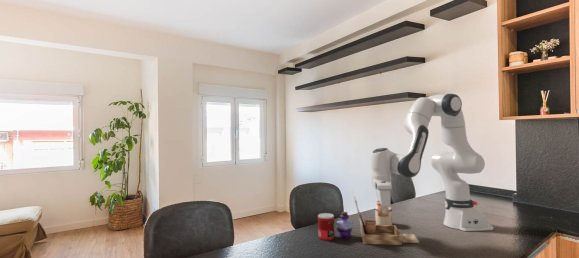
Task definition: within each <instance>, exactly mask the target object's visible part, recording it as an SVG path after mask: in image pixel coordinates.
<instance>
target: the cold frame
mask: <svg viewBox="0 0 579 258" xmlns="http://www.w3.org/2000/svg"><path fill="white" fill-rule="evenodd" d="M352 196H353V198H354V203H355V207H356V211H357V214H358V215H357V216H358V219H359V222H360V223H359V224H360V226H359V227H360V234H361V239H362V243H363V245H364V244H365V245H387V246H388V245H390V246H391V245H392V246H393V245H394V246H403V242H402V235H401V234H402V233H401V232H400V230H399V229H398V227H397V226H396V224H395V225H393V224H392V225H376V235H369V234H365V223H364V220H363V217H362V215H361V212H360V209H359V206H358V202H357V199H356V195H355V193H352Z"/></svg>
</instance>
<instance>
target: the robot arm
mask: <svg viewBox="0 0 579 258" xmlns="http://www.w3.org/2000/svg"><path fill="white" fill-rule="evenodd" d="M462 105H463V102H462V99H461V97H460V96H459V95H458V94H455V93H440V94H439V93H438V94H434V95H431V96H430V95H429V96H428V95H427V96H424V97H423V96H422V97H418V98H416V100H414V102H413V104H412V105H411V107H410V109H409V110H408V111H407V114H406V116H405V119H404V122H403V127H404V128H405V130H406V132H407V133H409V134H411V136H412V141H411V145H410V147H409V150H408V153H405V154H399V153H396V152H393V151H391V150H390V149H389V148H388V147H380V148H379V147H378V148H376V149H374V150H372V153H371V159H370V160H371V163H370V164H371V170H372V173H371V185H372V187H374V189H375V196H376V198H377V201H379V202H380V204H381V205H382V213H386V208H387V207H391V198H392V195H391V194H392V192H391V190H393V186H392V185H393V184H392V174H395V175H399V176H403V177H405V178H408V179H410V178H414V177H416V176H417V175H418V174H419V173H420V171H421V167H422V159H423V155H424V153H425V152H424V151H425V149H426V146H427V142H428V138H429V134H430V133H429V129H428V128H429V125H430V122H431V120H432V117H440V129H441V135H442V136H441V137H442V141H443V143H444V144H445V145H447V146H449V147H450V148H451V149H452V150H453V151H440V152H439V151H438V152H434V153H433V155H432V156H431V158H430V165H431V166H432V168H433V169H434V170H435V171H437V173H438V174H439V175H440V176H441V178H442V180H443V182H444V183H443V184H444V189H445V197H444V208H445V214H444V218H443V223H442V224H443V225H444V226H445V227H448V228H451V229H456V230H461V231H462V232H463V231H464V232H477V231H478V232H479V231H482V232H483V231H494V228H495V227H494V226H493V224H490V223H489V221H488V218H487V215H486V214H484V213H483V212H482V211H481V210H479V209H478V208H477V207H475V206H478V204H479V203H478V201H476V200H472V199H471V195H470V193H471V192H470V185H469V183H468V182H466V181H465V180H464V179H462V178H461V177H460V176H459V175H458V174H467V175H472V174H481V172H482V171H483V170H484V168H485V166H486V162H485V159H484V158H483V156H482V155H481V154H480V153H478V152H476V151H475V150H474V149H473V147H471V145H470V143H469V140H468V137H467V130H466V122H465V116H464V113H463V109H462Z"/></svg>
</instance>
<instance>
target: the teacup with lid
mask: <svg viewBox="0 0 579 258" xmlns="http://www.w3.org/2000/svg"><path fill="white" fill-rule="evenodd" d="M388 211H389V216H388V217H380V216H378V209H377V205H376V206H375V207H374V212H375V213H374V215H375V220H376V225H393V213H392V212H393V208H392V207H391V206H389V207H388Z"/></svg>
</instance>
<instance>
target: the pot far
mask: <svg viewBox="0 0 579 258" xmlns="http://www.w3.org/2000/svg"><path fill="white" fill-rule="evenodd" d="M363 222H364V225H365V234H369V235H376V219H373V218H372V219H371V218H366V219H364V220H363Z"/></svg>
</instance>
